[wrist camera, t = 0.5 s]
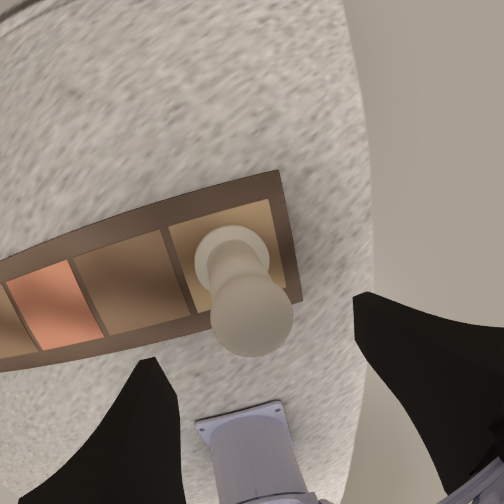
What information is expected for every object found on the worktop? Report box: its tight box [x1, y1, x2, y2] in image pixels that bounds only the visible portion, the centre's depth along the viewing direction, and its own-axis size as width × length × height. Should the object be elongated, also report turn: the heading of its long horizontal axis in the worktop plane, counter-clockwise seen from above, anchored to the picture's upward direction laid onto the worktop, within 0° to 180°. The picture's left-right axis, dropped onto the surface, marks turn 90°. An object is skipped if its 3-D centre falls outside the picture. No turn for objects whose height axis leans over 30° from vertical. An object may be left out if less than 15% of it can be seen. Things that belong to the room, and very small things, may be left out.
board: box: [0, 170, 303, 373], centre depth 17 cm, size 9×28×1 cm, turn 103°
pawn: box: [194, 224, 293, 357], centre depth 14 cm, size 4×4×8 cm
